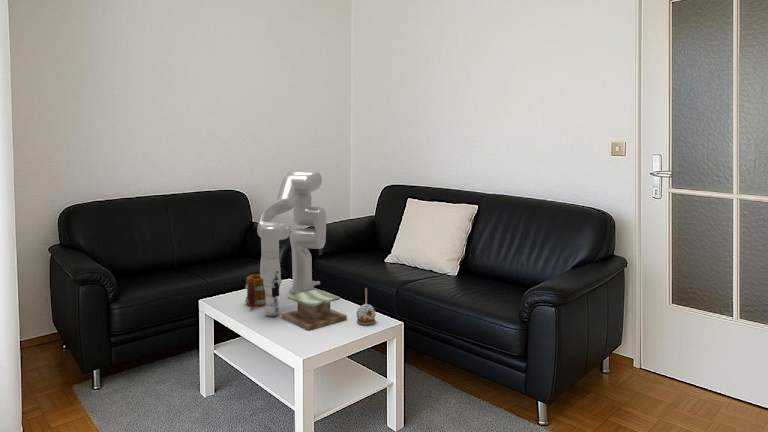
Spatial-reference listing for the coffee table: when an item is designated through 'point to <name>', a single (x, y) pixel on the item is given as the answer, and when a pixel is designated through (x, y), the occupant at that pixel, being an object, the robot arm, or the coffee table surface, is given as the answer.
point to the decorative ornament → (366, 313)
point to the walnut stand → (313, 310)
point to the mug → (255, 291)
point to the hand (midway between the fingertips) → (271, 294)
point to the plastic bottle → (270, 300)
